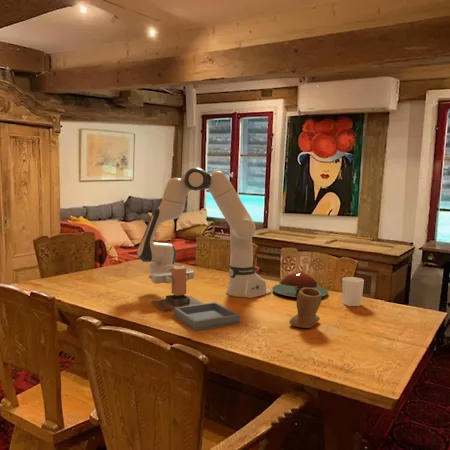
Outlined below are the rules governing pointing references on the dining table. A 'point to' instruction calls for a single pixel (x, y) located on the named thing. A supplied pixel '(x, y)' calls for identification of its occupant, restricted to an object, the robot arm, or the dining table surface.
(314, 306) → the stone cup
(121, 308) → the dining table surface
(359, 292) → the candle holder
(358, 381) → the dining table surface
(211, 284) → the dining table surface
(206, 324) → the tray
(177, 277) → the terracotta block
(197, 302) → the holder
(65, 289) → the dining table surface
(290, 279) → the red dome on disc
